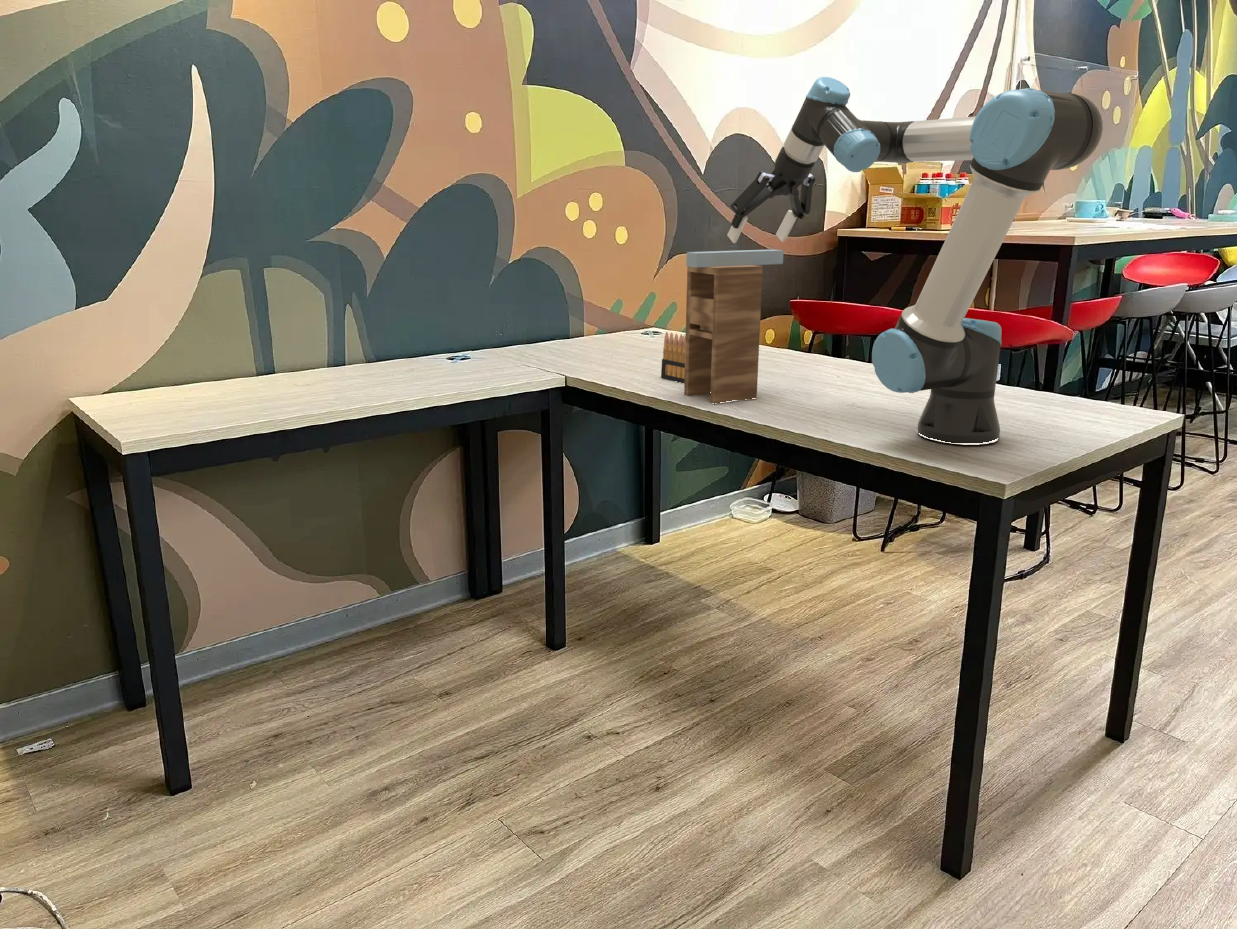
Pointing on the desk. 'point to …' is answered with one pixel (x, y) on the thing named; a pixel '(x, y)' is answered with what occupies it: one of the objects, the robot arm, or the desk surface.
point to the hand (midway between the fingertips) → (756, 238)
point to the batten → (734, 258)
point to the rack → (723, 331)
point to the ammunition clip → (673, 358)
